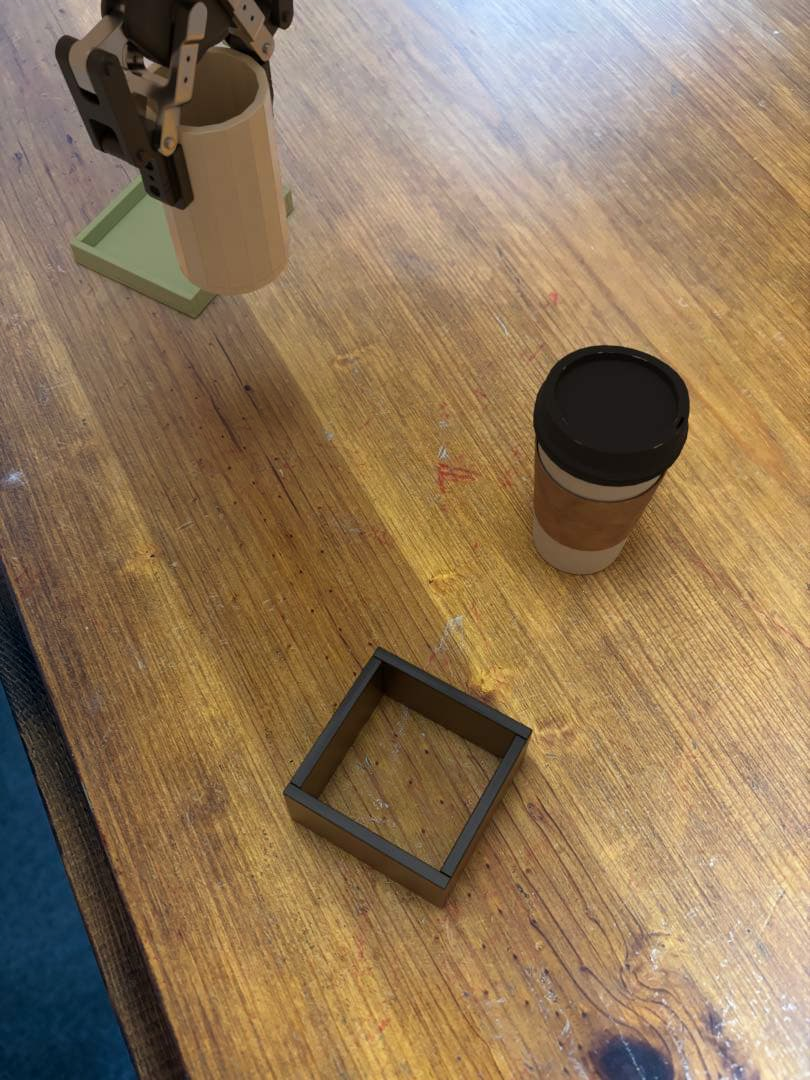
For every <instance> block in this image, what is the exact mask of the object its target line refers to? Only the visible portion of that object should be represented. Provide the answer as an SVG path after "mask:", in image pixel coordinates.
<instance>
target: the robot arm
mask: <svg viewBox="0 0 810 1080" xmlns="http://www.w3.org/2000/svg"><path fill="white" fill-rule="evenodd" d="M294 11H295V10H294V0H100V16H101V19H100V20H99V21H98V22H97V23H96V24H95V25H94V26H93V27H92V28H91V29H90V31H89V32H87V34H85V36H84V37H82V38H81V39H79V38H76V37H75V36H72V35H70V34H64V35H62V36H60V38H58V41H57V42H56V44H55V47H54V57H55V60H56V62H57V64H58V67H59V69H60V72H61V74H62V77H63V79H64V81H65V83H66V85H67V88H68V90H69V94H70V95H71V97H72V100H73V102H74V104H75V107H76V109H77V111H78V114H79V116H80V119H81V120H82V123H83V126H84V128H85V130H86V132H87V134H88V137H89V139H90V142H91V144H92V146H93V148H94V149H95V150H97V151H99V152H101V153H103V154H108V155H111V156H113V157H115V158H117V159H119V160H121V161H123V162H126V163H127V164H129V166H132V167H134V168H137V169H138V170H139V175H140V174H141V175H142V176H141V177H142V181H143V184H144V188H145V191H146V193H147V194H148V195H149V196H150V197H152V198H154V199H156V200H158V201H161V202H163V203H165V204H167V205H169V206H171V207H175V208H178V209H180V210H185V209H186V208H187V207H188V206H189V205H190V204H191V203H192V202H193V200H194V196H193V192H192V187H191V183H190V179H189V174H188V170H187V166H186V161H185V157H184V153H183V148H182V145H181V144H179V143H177V142H178V134H179V126H180V117H181V109H182V106H183V105H185V104H188V103H190V101H191V99H192V94H193V86H194V78H195V70H196V65H197V64H198V63H199V61H200V60H201V59H202V57H203V56H204V54H205V53H206V51H207V50H208V49H209V48H211V47H213V46H217V45H219V44H221V43H222V44H223V46H224V47H225V46H226V47H227V48H232V49H234V50H237V51H239V52H242V53H244V54H246V55H249V56H250V57H252V58H253V59H254V60H255V61H256V62H257V63H258V64H259V65H260V66H261V67H262V68H263V69H264V70H265V73H266V76H267V80H268V84H269V89H270V96H271V104H272V111H273V119H275V114H274V106H273V105H274V99H275V94H274V87H273V79H272V70H271V62H270V59H271V58H272V56H273V55H274V52H275V47H276V43H275V38H274V36H275V35H276V33H277V31H278V29H280V30H283V31H286V30H288V29H289V28H290V26H291V25H292V23H293V20H294V13H295V12H294ZM144 58H145V59H147V60H148V61H150V62H152V63H157V64H159V65H161V66H164V67H166V68H169V69H170V70H169V78H168V79H166V78H163V77H161V76H159V75H156V74H154V73H152V72H150V71H148V70H147V68H148V67H146V65H145V59H144ZM148 98H150V99H152V100H154V101H155V103H156V105H157V113H156V122H154V121H152V120H150V119H147V118H146V109H147V99H148Z"/></svg>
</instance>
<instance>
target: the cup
mask: <svg viewBox="0 0 810 1080" xmlns="http://www.w3.org/2000/svg"><path fill="white" fill-rule="evenodd" d="M146 68H147V70H148V71H150V72H152V73H154V74H156V75H159V76H161V77H163V78H166V79H168V78H169V70H170V69H169V68H166V67H164V66H161V65H159V64H157V63H154V62H152V63H151V64H150V65H149V66H148V67H146ZM156 113H157V105H156V103H155V101H154V100H152V99H150V98H148V99H147V109H146V118H147V119H150V120H152V121H154V122H156ZM273 113H274V110H273V111H272V104H271V96H270V89H269V84H268V80H267V76H266V73H265V70H264V69H263V68H262V67H261V66H260V65H259V64H258V63H257V62H256V61H255V60H254V59H253V58H252V57H250V56H249V55H246V54H244V53H242V52H239V51H237V50H234V49H232V48H230V47H228V46H226V47H225V46H217V45H215V46H213V47H211V48H209V49H208V50H207V51H206V53H205V54H204V56H203V57H202V59H201V60H200V61H199V63H198V64H197V65H196V70H195V78H194V86H193V94H192V99H191V101H190V103H188V104H185V105H183V106H182V109H181V117H180V126H179V134H178V142H177V143H179V144H181V145H182V148H183V153H184V157H185V161H186V166H187V170H188V174H189V179H190V183H191V187H192V192H193V196H194V200H193V202H192V203H191V204H190V205H189V206H188V207H187V208H186V209H185V210H180V209H178V208H175V207H171V206H169V205H167V204H165V203H163V202H162V204H163V208H164V212H165V216H166V219H167V223H168V227H169V231H170V235H171V238H172V242H173V246H174V250H175V254H176V257H177V261H178V264H179V266H180V269H181V271H182V273H183V274H184V276H185V277H186V278H187V279H188V280H189V281H190V282H191V283H192V284H193V285H195V286H196V287H198V288H200V289H202V290H204V291H207V292H210V293H213V294H217V295H220V296H240V295H245V294H249V293H253V292H255V291H258V290H261V289H263V288H265V287H266V286H268V285H270V284H271V283H273V282H274V281H275V280H276V279H277V278H279V277H280V275H281V274H283V272H284V270H285V268H286V266H287V265H288V263H289V260H290V255H291V242H290V241H291V240H290V232H289V226H288V225H289V224H288V218H287V217H288V216H287V217H286V209H285V202H284V194H283V187H282V186H283V180H282V174H281V165H280V157H279V151H278V143H277V135H276V127H275V118H273Z"/></svg>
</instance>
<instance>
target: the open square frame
mask: <svg viewBox="0 0 810 1080" xmlns="http://www.w3.org/2000/svg"><path fill="white" fill-rule="evenodd" d="M376 647H377V648H376V649H375V650H374V652H373V653H372V655H371V656H370V658H369V660H368V661H367V663H366V664H365V665H364V667H363V669H362V670H361V671H360V673H359V674H358V676H357V678H356V679H355V681H354V682H353V683H352V685H351V686H350V688H349V690H348V692H347V693H346V694H345V696H344V697H343V699H342V701H341V703H339V705H338V707H337V708H336V710H335V712H334V713H333V714H332V716H331V717H330V719H329V721H327V724H326V725H325V727H324V728H323V729H322V731H321V733H320V734H319V736H318V738H317V739H316V740H315V742H314V743H313V745H312V746H311V748H310V749H309V751H308V753H307V754H306V755H305V758H304V759H303V760H302V761H301V763H300V765H299V767H297V768H298V769H297V770H296V771H295V772H294V774H293V775H292V777H291V779H290V780H289V782H288V783H287V785H286V787H285V788H284V790H283V791H282V795H283V799H284V801H285V804H286V807H287V810H288V813H289V816H290V819H291V820H293V821H295V822H296V823H298V824H300V825H301V826H303V827H304V828H306V829H308V830H309V831H311V832H313V833H314V834H316V835H318V836H319V837H321V838H322V839H324V840H326V841H328V842H329V843H331V844H333V846H336V847H338V848H339V849H341V850H342V851H344V852H346V853H347V854H349V855H351V856H352V857H354V858H356V859H357V860H359V861H361V862H362V863H364V864H365V865H367V866H368V867H370V868H372V869H374V870H375V871H377V872H379V873H380V874H382V875H384V876H385V877H387V878H388V879H391V880H392V881H393V882H395V883H397V884H399V885H400V886H402V887H404V888H405V889H407V890H409V891H410V892H412V893H414V894H415V895H417V896H419V898H422V899H424V900H425V901H426V902H428V903H430V904H431V905H434V906H435V907H437V908H438V909H440V910H442V909H443V908H444V907H445V905H446V903H447V901H448V899H449V898H450V895H451V894H452V892H453V890H454V889H455V886H456V884H457V883H458V881H459V879H460V878H461V876H462V874H463V872H464V870H465V868H466V866H467V864H468V862H469V861H470V859H471V857H472V855H473V853H474V852H475V850H476V848H477V846H478V844H479V843H480V841H481V839H482V837H483V835H484V833H485V832H486V830H487V828H488V827H489V825H490V823H491V821H492V819H493V817H494V815H495V813H496V811H497V810H498V808H499V806H500V804H501V803H502V801H503V799H504V797H505V795H506V793H507V792H508V789H509V788H510V787H511V784H512V782H513V781H514V779H515V777H516V775H517V773H518V771H519V769H520V768H521V766H522V764H523V762H524V761H525V758H526V755H527V752H528V748H529V746H530V745H529V744H530V741H531V738H532V734H533V731H534V729H533V728H531V727H529V726H528V725H526V724H524V723H522V722H520V721H518V720H516V719H514V718H513V717H511V716H509V715H507V714H505V713H504V712H502V711H499V710H498V709H496V708H494V707H492V706H490V705H489V704H487V703H485V702H483V701H481V700H479V699H478V698H476V697H474V696H472V695H471V694H468V693H467V692H465V691H463V690H461V689H459V688H457V687H456V686H453V685H452V684H450V683H448V682H446V681H444V680H442V679H441V678H439V677H437V676H435V675H434V674H431V673H430V672H427V671H426V670H424V669H422V668H420V667H418V666H417V665H414V664H413V663H411V662H409V661H407V660H406V659H404V658H402V657H400V656H398V655H397V654H394V653H393V652H392V651H389V650H387V649H385V648H384V647H381V646H380V645H378V646H376ZM384 695H386V696H388V697H389V698H392V699H393V700H394V701H397V702H398V703H401V704H402V705H404V706H406V707H408V708H409V709H411V710H413V711H415V712H416V713H418V714H420V715H422V716H423V717H426V718H428V719H429V720H431V721H433V722H434V723H436V724H439V725H440V726H442V727H444V728H445V729H447V730H449V731H451V732H452V733H454V734H456V735H458V736H460V737H461V738H464V739H465V740H467V741H469V742H471V743H473V744H475V745H476V746H478V747H479V748H481V749H483V750H485V751H487V752H488V753H491V754H493V755H494V756H496V757H497V758H500V759H501V760H500V762H499V764H498V765H497V767H496V769H495V771H494V772H493V774H492V776H491V778H490V780H489V781H488V783H487V785H486V787H485V789H484V791H483V793H482V794H481V796H480V797H479V799H478V801H477V803H476V805H475V807H474V808H473V811H472V812H471V814H470V816H469V817H468V819H467V820H466V823H465V825H464V827H463V828H462V829H461V832H460V834H459V835H458V837H457V839H456V840H455V842H454V844H453V846H452V848H451V850H450V851H449V854H448V855H447V857H446V859H445V861H444V862H443V864H442V866H441V868H440V869H439V870H438V869H436V868H435V867H433V866H431V865H430V864H428V863H426V862H424V861H423V860H422V859H420V858H418V857H416V856H415V855H413V854H411V853H409V852H408V851H407V850H404V849H403V848H401V847H400V846H398V845H396V844H394V843H393V842H391V841H389V840H387V839H386V838H384V837H382V836H381V835H380V834H377V833H376V832H375V831H373V830H371V829H370V828H367V827H366V826H364V825H363V824H361V823H359V822H357V821H356V820H354V819H353V818H350V817H349V816H347V815H346V814H344V813H342V812H341V811H339V810H337V809H336V808H334V807H332V806H330V805H329V804H327V803H326V802H323V801H322V800H320V799H319V798H320V795H321V794H322V793H323V791H324V789H325V788H326V786H327V785H328V783H329V781H330V780H331V778H332V777H333V775H334V774H335V772H336V771H337V769H338V767H339V766H340V764H341V763H342V761H343V759H344V758H345V756H346V755H347V753H348V752H349V750H350V749H351V747H352V745H353V743H354V742H355V741H356V739H357V738H358V736H359V735H360V733H361V731H362V730H363V728H364V727H365V725H366V723H367V722H368V720H369V718H370V717H371V715H372V714H373V712H374V710H375V709H376V708H377V706H378V704H379V702H380V701H381V699H382V698H383V696H384Z"/></svg>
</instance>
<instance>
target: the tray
mask: <svg viewBox="0 0 810 1080" xmlns="http://www.w3.org/2000/svg"><path fill="white" fill-rule="evenodd" d="M141 176H142V175H141V174H140V173H139V174H138V175H137V177H136V178H134V179H133V181H131V182H130V183H129V184H128V185H127V186H126V187H125V188H124V189H123V190H122V191H121V192H119V194H118V195H117V196H116V197H115V198H114V199H113V200H112V201H111V202H109V204H108V205H107V206H106V207H105V208H104V209H103V210H102V211H101V212H100V213H99V214H98V215H97V216H96V217H95V218H93V220H91V221H90V222H89V223H88V224H87V226H85V227H84V228H83V229H82V230H81V231H80V232H79V233H78V235H76V236H75V237H74V238H73V239H72V240H71V241H70V242H69V245H70V248H71V251H72V254H73V257H74V259H75V262H76V263H77V264H78V265H81V266H84V267H86V268H88V269H90V270H92V271H94V272H97V273H98V274H100V275H102V276H105V277H106V278H109V279H110V280H113V281H116V282H117V283H118V284H122V285H123V286H126V287H128V288H130V289H132V290H134V291H136V292H138V293H139V294H140V293H141V294H142V295H144V296H146V297H149V298H151V299H152V300H155V301H157V302H158V303H161V304H164V305H166V306H168V307H169V308H171V309H174V310H176V311H178V312H180V313H182V314H184V315H186V316H189V317H191V318H193V319H196V318H197V317H198V316H199V315H200V314H201V313H202V312H203V310H205V308H206V307H207V306H208V305H209V304H210V303H211V301H212V300H213V299H214V298H216V296H217V295H218V294H213V293H210V292H207V291H204V290H202V289H200V288H198V287H196V286H195V285H193V284H192V283H191V282H190V281H189V280H188V279H187V278H186V277H185V276H184V274H183V273H182V271H181V269H180V266H179V264H178V261H177V257H176V254H175V250H174V246H173V242H172V238H171V235H170V231H169V227H168V223H167V219H166V216H165V212H164V208H163V204H162V202H161V201H158V200H156V199H154V198H152V197H150V196H149V195H148V194H147V193H146V191H145V188H144V184H143V181H142V177H141ZM282 187H283V194H284V202H285V209H286V217H288V216H289V214H290V213H291V212H292V211H293V210H294V205H293V203H294V202H293V195H292V189H291V188H289V187H286V186H283V185H282Z"/></svg>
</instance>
